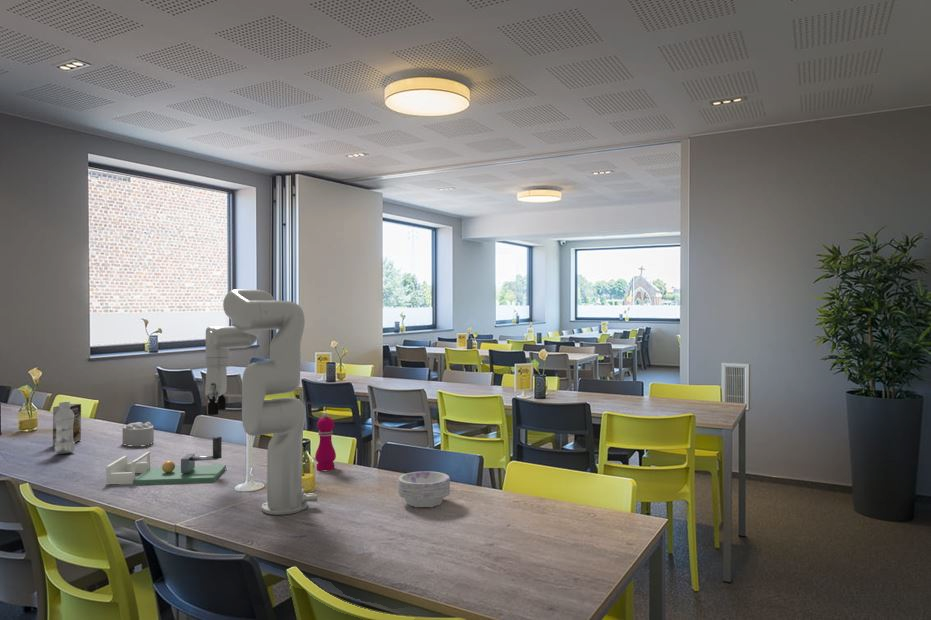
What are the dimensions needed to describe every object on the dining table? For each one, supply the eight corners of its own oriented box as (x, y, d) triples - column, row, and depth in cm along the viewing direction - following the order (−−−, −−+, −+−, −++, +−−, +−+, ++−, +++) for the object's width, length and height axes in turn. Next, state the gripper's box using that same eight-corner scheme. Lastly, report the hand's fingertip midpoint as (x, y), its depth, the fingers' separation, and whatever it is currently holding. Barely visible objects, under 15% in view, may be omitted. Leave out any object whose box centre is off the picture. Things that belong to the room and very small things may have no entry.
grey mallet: (223, 466, 211) (224, 435, 211) (218, 472, 204) (218, 439, 204) (187, 468, 209) (187, 436, 209) (180, 473, 202) (180, 440, 202)
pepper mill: (330, 472, 212) (330, 415, 212) (311, 470, 214) (311, 414, 214) (339, 466, 219) (339, 411, 219) (320, 465, 221) (320, 410, 221)
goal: (150, 472, 211) (150, 451, 211) (134, 483, 197) (134, 461, 197) (124, 473, 210) (124, 452, 209) (106, 484, 196) (106, 462, 196)
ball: (176, 470, 207) (176, 459, 207) (172, 474, 203) (172, 462, 203) (164, 471, 207) (164, 459, 207) (160, 474, 203) (160, 462, 203)
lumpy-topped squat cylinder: (144, 439, 263) (144, 419, 263) (159, 443, 256) (159, 423, 256) (119, 443, 255) (119, 423, 255) (134, 448, 247) (134, 427, 247)
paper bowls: (426, 492, 189) (426, 467, 189) (460, 503, 178) (460, 476, 178) (387, 503, 179) (387, 476, 179) (421, 516, 168) (421, 487, 168)
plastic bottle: (78, 453, 238) (78, 402, 238) (59, 456, 233) (59, 404, 233) (70, 450, 242) (70, 400, 242) (51, 454, 236) (51, 403, 236)
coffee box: (67, 446, 250) (67, 407, 250) (52, 446, 250) (52, 407, 250) (81, 441, 259) (81, 403, 259) (66, 441, 259) (66, 403, 259)
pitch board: (225, 469, 215) (225, 464, 215) (213, 481, 200) (213, 477, 200) (151, 471, 212) (151, 467, 212) (132, 484, 196) (132, 480, 196)
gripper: (212, 359, 215) (212, 407, 215) (198, 364, 198) (198, 416, 198) (234, 359, 216) (234, 407, 216) (222, 364, 199) (222, 416, 199)
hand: (217, 412), depth 207 cm, fingers open, 9 cm apart
